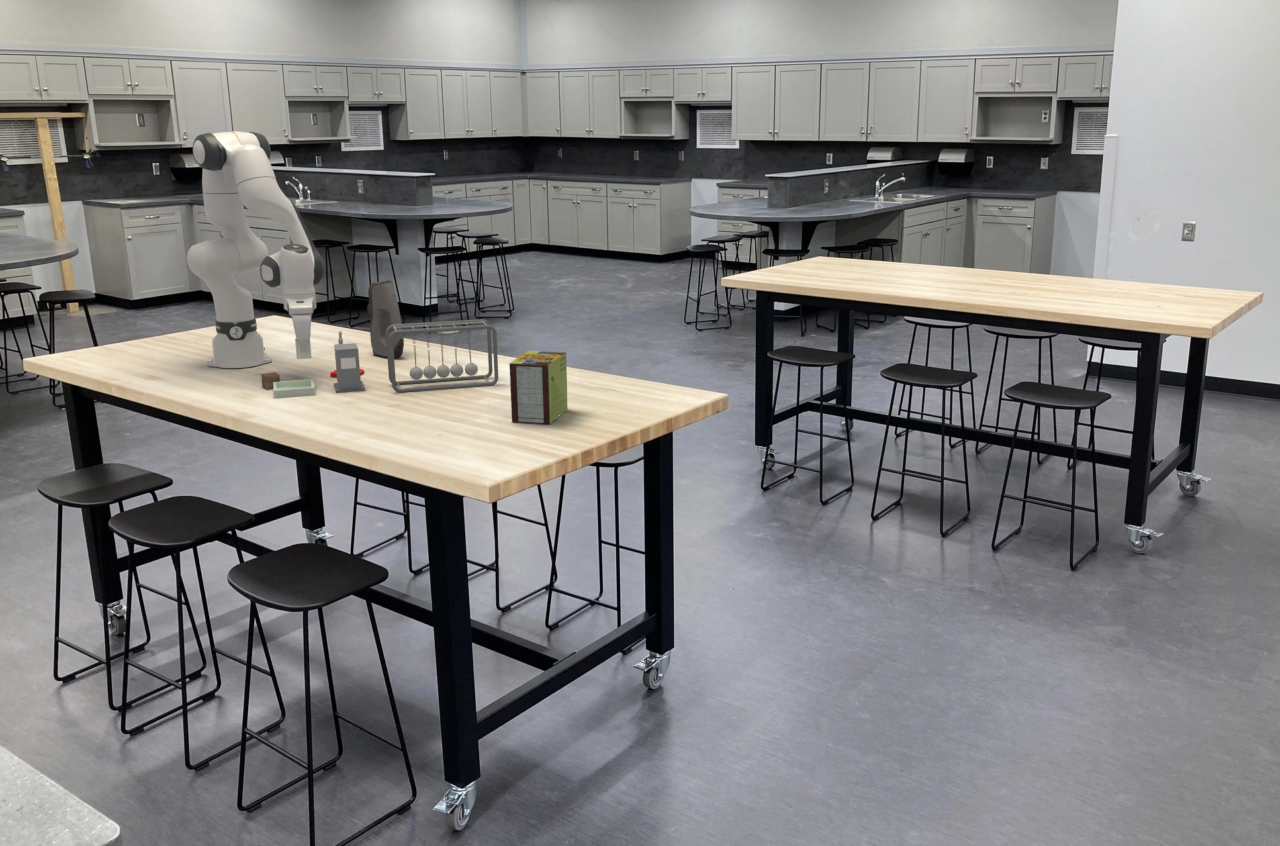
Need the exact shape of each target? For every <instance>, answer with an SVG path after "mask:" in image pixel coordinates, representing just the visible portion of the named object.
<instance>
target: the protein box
mask: <svg viewBox="0 0 1280 846" xmlns="http://www.w3.org/2000/svg"><path fill="white" fill-rule="evenodd" d="M567 370H568V369H567V352H564V351H543V350H541V351H540V350H527V351H526V352H524V353H523V354H521V355H519V356H518V357H517V358H516V359H513V360H512V361H510V362H509V382H510V383H509V384H510V403H511V404H510V408H511V423H516V424H517V423H518V424H519V423H520V424H533V423H536V424H535V425H537V424H538V425H549V424H550V425H551V424H552V423H554V422H555V421H556V420H557V419H558V418H559V417H560V416H559V415H561V414H562V413H563V412H564V411H565V410H566V411H567V410H568V408H569V407H568V374H567V372H568V371H567ZM566 411H565V412H566ZM565 412H564V413H565ZM564 413H563V414H564ZM563 414H562V415H563ZM562 415H561V416H562ZM558 416H559V417H558ZM557 417H558V418H557ZM556 418H557V419H556ZM555 419H556V420H555ZM554 420H555V421H554ZM553 421H554V422H553Z"/></svg>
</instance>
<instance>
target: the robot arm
mask: <svg viewBox="0 0 1280 846" xmlns="http://www.w3.org/2000/svg"><path fill="white" fill-rule="evenodd" d="M271 154H272V151H271V146H270V142H269V141H268V139H267V138H266V137H265V136H264V135H263V134H261V133H258V132H254V131H249V132H247V131H237V130H236V131H233V130H231V131H230V130H229V131H219V132H213V133H212V132H204V133H201V134H198V135H197V136H196V137H195V138H194V140H193V143H192V155H193V158H194V161H195V163H196V164H197V165H198V166H199V167H200V168H201V169H202V175H201V176H202V177H201V178H202V179H201V182H202V183H201V185H202V186H201V187H202V197H203V198H202V199H203V205H204V208H203V209H204V215H205V218H206V220H207V221H208V223H210V224H211V225H213V226H215V227H217V228H218V229H219V230H220V232H221V235H222V239H212V240H204V241H202V242H199V243H198V242H197V243H196V244H193V245H192V246H190V248H189V249H188V251H187V255H186V262H187V265H188V268H189V270H190V271H191V272H192V274H194V275H195V276H196V277H199V278H200V279H201V280H202V281H203V282H204V283H205V284H206V286H207V287H208V289H209V290H210V293H211V295H212V299H213V300H212V301H213V304H214V305H213V306H214V310H215V318H216V320H215V325H214V326H215V332H216V335H215V336H214V337H213V338H212V340H211V341H212V342H211V345H212V355H213V358H212V359H211V360H210V361H208V362H207V367H213V368H214V367H215V368H222V369H241V368H242V369H243V368H250V367H257V366H260V365H263V364H267V363H271V362H272V363H273V359H272V358H271V356H269V355H268V354H266V353H265V350H266V348H265V346H264V339H263V338H264V337H263V336H262V335H261V334H260V333H259V332H258V331H257V329H258V326H257V325H258V323H257V319H256V317H255V314H254V313H255V312H254V303H253V295H252V293H251V292H250V291H249V290H247V289H246V288H244V287H242V286H241V285H239V284H238V283H237V281H236V277H235V275H239V274H248V273H253V272H256V271H258V270H260V272H259V273H260V278H261V280H262V281H263V282H264V283H265V284H266V285H267V286H268V287H270V288H275V289H278V288H279V289H281V288H282V290H283V291H282V298H283V309H284V310H286V311H287V312H288V314H289V316H290V318H291V320H292V325H293V330H294V334H295V339H297V341H299V343H300V351H301V352H302V353H303V352H307V340H310V341H311V334H312V333H311V331H312V328H311V327H312V315H313V313H314V311H315V309H317V298H316V297H317V296H316V289H315V286H317V285H318V284H320V282H321V281H322V280H323V279H324V278H325V277H324V276H325V274H326V264H325V261H324V259H323V258H322V256H321V255H320V253H319V251H318V250H317V248H316V247H315V244H314V241H313V240H312V238H311V236H310V233H309V231H308V229H307V226H306V224H305V222H304V221H303V217H302V216H301V214H300V212H299V210H298V208H297V206H296V204H295V202H294V201H293V200H291V199H290V198H288V197H287V196H286V195H285V193H284V192H283V190H281V188H280V186H279V184H278V182H277V179H276V178H277V177H276V175H275V172H274V169H273V167H272V164H271V161H270V159H271ZM245 208H246V209H247V210H248V211H250V212H252V213H254V214H256V215H258V216H262V217H265V218H268V219H271V220H273V221H276V222H277V223H279V224H281V225H282V226H283V228H285V229H286V232H287V233H288V235H289V238H290V240H291V242H292V243H288V244H284V245H283V246H282V247H280V250H279V251H277V252H276V253H273V254H269V250H268V247H267V245H266V243H264V241H263V240H261V238H259V237H258V236H257V235H255V234H254V232H253V231H252V229H251V228H250V226H249V224H248V221H247V218H246V214H245Z"/></svg>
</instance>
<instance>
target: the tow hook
mask: <svg viewBox="0 0 1280 846" xmlns="http://www.w3.org/2000/svg"><path fill="white" fill-rule="evenodd" d="M337 340H338V342H337V343H338V344H344V340H343V337H342V330H339V331H338V339H337ZM364 374H365V369H363V368H360V376H361V375H364ZM329 376H330V377H331V378H337V372H336V369H335V370H333V371H330V373H329Z"/></svg>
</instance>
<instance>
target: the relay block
mask: <svg viewBox="0 0 1280 846" xmlns="http://www.w3.org/2000/svg"><path fill="white" fill-rule="evenodd" d="M294 342H295V352H296V360H305V359H307V360H309V359H312V349H311V348H312V347H311V346H312V345H311V339H310V340H307V352H303V353H302V352H301V351H300V343H299V341H297V339H296V338H295V340H294Z"/></svg>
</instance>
